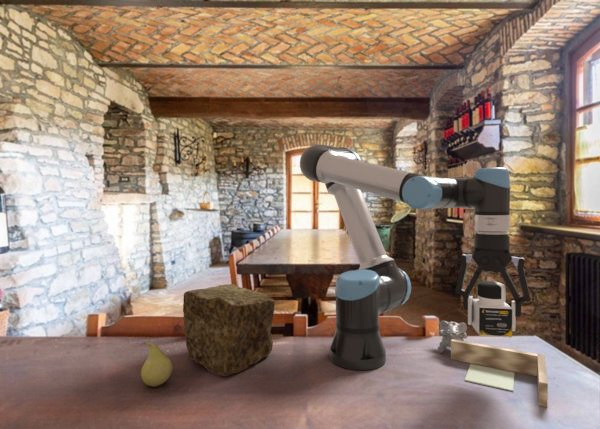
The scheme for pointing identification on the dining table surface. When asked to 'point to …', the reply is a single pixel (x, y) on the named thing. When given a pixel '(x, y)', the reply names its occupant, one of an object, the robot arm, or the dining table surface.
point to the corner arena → (504, 362)
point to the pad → (490, 377)
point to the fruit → (156, 367)
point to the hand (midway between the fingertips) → (491, 326)
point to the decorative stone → (227, 327)
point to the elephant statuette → (451, 333)
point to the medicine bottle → (492, 311)
